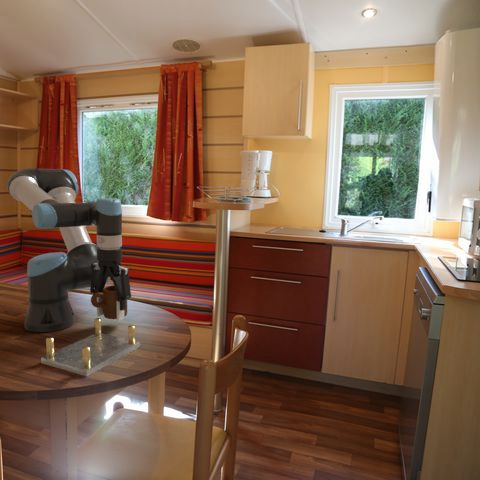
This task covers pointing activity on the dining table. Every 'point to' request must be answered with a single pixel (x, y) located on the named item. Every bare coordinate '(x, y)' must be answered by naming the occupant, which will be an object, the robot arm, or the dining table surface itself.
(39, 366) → the dining table surface
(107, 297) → the mug
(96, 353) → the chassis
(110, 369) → the dining table surface
